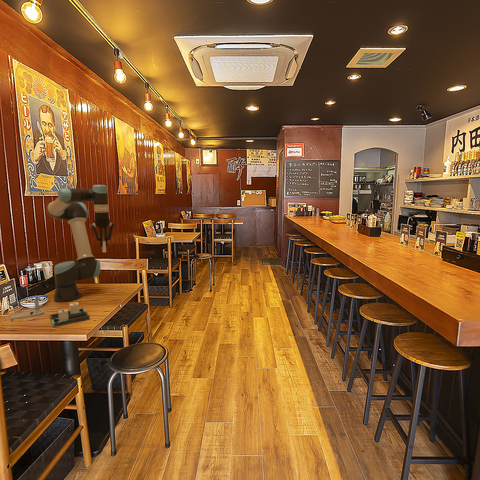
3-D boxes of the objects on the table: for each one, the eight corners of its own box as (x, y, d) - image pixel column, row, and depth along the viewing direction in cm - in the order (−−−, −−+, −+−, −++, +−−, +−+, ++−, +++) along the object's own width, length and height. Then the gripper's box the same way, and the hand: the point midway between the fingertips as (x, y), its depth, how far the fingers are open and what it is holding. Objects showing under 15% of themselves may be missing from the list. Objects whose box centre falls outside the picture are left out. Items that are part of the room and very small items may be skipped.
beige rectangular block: (70, 314, 166) (69, 302, 165) (78, 312, 169) (77, 300, 168) (71, 316, 163) (70, 304, 162) (79, 314, 166) (78, 302, 165)
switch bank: (50, 319, 163) (49, 313, 163) (84, 312, 173) (83, 307, 172) (53, 330, 150) (52, 324, 149) (90, 321, 159) (89, 316, 159)
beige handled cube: (58, 321, 156) (57, 309, 155) (67, 319, 159) (66, 307, 158) (59, 324, 153) (58, 311, 152) (68, 322, 156) (67, 309, 155)
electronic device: (9, 302, 163) (42, 297, 169) (12, 319, 164) (45, 313, 170) (7, 305, 158) (41, 300, 164) (10, 323, 159) (43, 317, 166)
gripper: (90, 212, 170) (93, 254, 173) (115, 211, 177) (117, 251, 181) (87, 212, 176) (90, 252, 179) (111, 211, 183) (114, 250, 187)
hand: (104, 252), depth 180 cm, fingers closed
